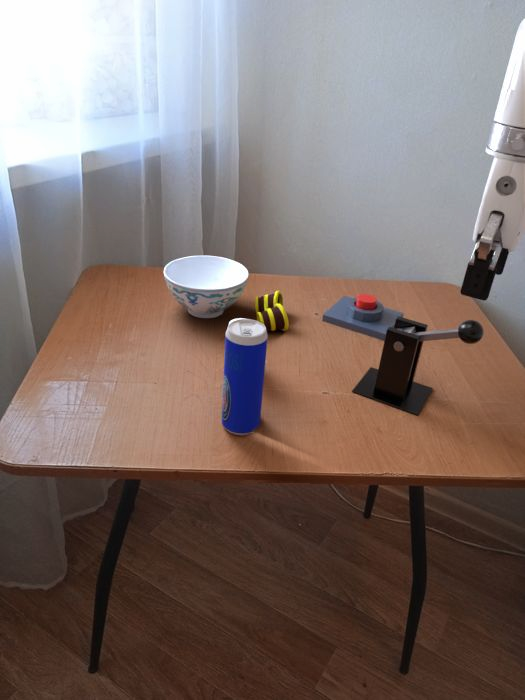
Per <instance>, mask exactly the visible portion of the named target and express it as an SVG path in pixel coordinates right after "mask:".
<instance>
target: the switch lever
mask: <svg viewBox="0 0 525 700" xmlns="http://www.w3.org/2000/svg"><path fill="white" fill-rule="evenodd" d="M397 329H398V330H402V331H405V332H408V333H411V334H415V335H418V336H420V338H419V341H424V342H430V341H439V340H450V339H451V340H452V339H460V341H462V342H463V343H465V344H468V345H473V344H477V343H478V342H481V340H482V338H483V336H484V334H485V333H484V330H485V329H484V327H483V325H482V324H481V322H479V321H477V320H475V319H467V320H464V321H463V322H461V323H460V324H459V326H458V327H456V328H448V329H446V328H445V329H437V330H435V329H434V330H426V332H416V329H415V327H406V328H397Z"/></svg>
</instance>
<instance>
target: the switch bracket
mask: <svg viewBox="0 0 525 700" xmlns="http://www.w3.org/2000/svg"><path fill="white" fill-rule="evenodd" d="M406 327H415V329H416V332H426V331H428V324H426V323H423V322H420V321H416V320H413V319H410V318H407V317H404V316H403V317H399V316H398V317H397V318H396V321H395V326H394V328H392V327H389V328H388V329H387V332H386V336H385V341H384V340H383V341H384V342H383V346H382V351H381V355H380V361H379V365H378V368H375V367H373V366H370V367H369V368H368V370H367V371H366V372H365V374H364V375H363V376H362V377H361V379H360V380H359V381H358V382H357V384H356V385H355V386H354V388H353V389H352V390H351V393H352V394H356V395H358V396H361V397H364V398H366V399H369V400H371V401H375V402H377V403H379V404H383V405H386V406H388V407H391V408H395V409H396V410H399V411H402V412H405V413H407V414H410V415H413V416H416V417H418V416H419V415H420V413H421V411H422V409H423V408H424V406H425V404H426V403H427V401H428V398H429V397H430V395H431V393H432V391H433V389H434V388H433V387H431V386H428V385H425V384H422V383H419V382H416V381H415V377H416V372H417V369H418V365H419V361H420V357H421V353H422V349H423V346H424V342H425V341H419V338H420V336H418V335H415V334H411V333H408V332H405V331H402V330H398V329H397V328H406Z"/></svg>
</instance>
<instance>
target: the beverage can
mask: <svg viewBox="0 0 525 700" xmlns="http://www.w3.org/2000/svg"><path fill="white" fill-rule="evenodd" d="M224 336H225V338H224V339H225V340H224V356H223V357H224V359H223V362H224V363H223V384H222V403H221V425H222V426H223V427H224V429H225V430H226V431H227V432H228V433H230V434H232V435H236V436H247V435H250V434H252V433H254V432H255V430H256V429H257V428H258V427H259V426H260V423H261V414H262V405H263V404H262V403H263V392H264V381H265V371H266V360H267V350H268V349H267V348H268V338H269V337H268V336H269V335H268V331H267V330H266V327H265V326H264V325H263V324H262V323H260V322H258V321H257V320H255V319H250V318H244V319H239V320H235V321H233V322H231V323H230V324H229V323H228V326H227V329H226V331H225V335H224Z"/></svg>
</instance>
